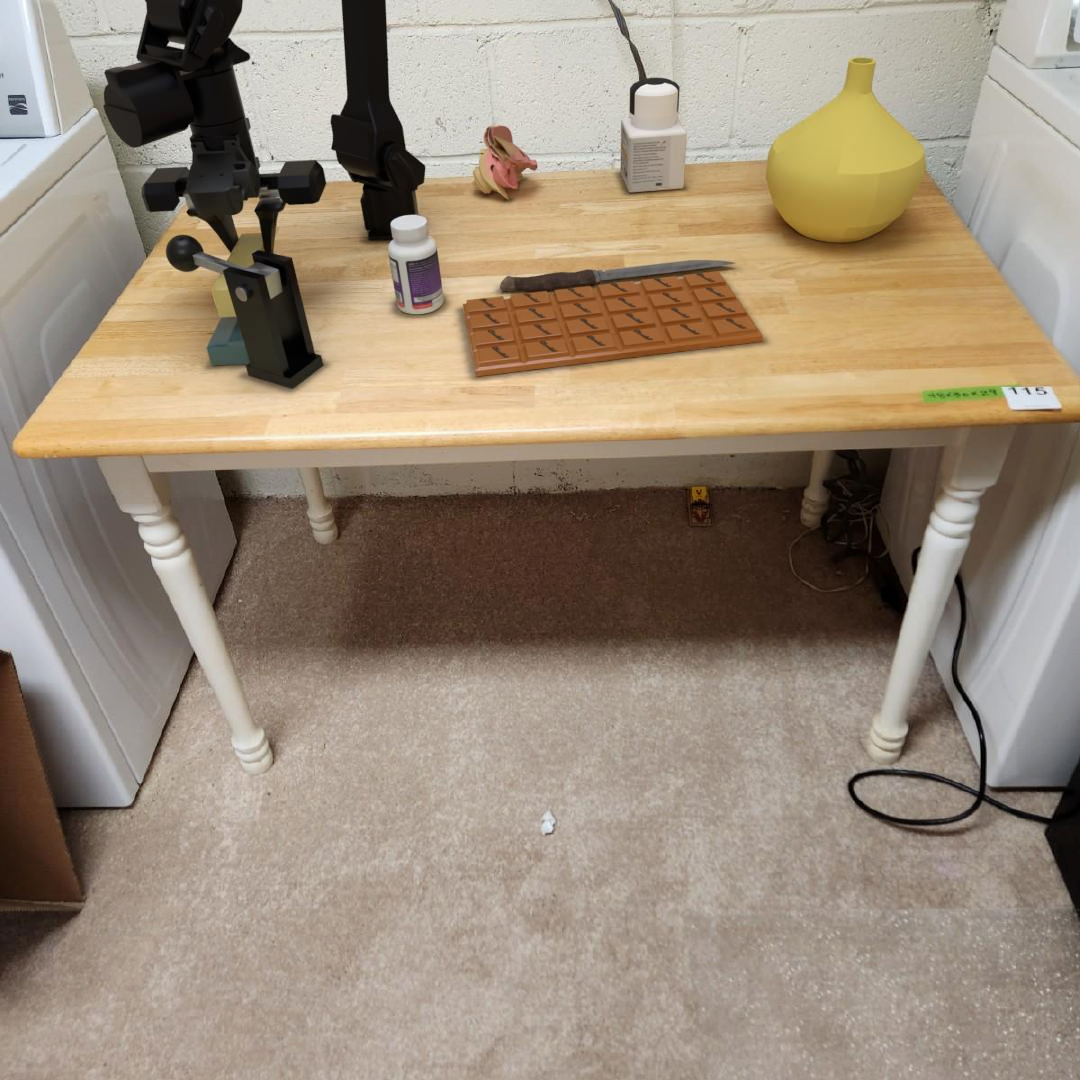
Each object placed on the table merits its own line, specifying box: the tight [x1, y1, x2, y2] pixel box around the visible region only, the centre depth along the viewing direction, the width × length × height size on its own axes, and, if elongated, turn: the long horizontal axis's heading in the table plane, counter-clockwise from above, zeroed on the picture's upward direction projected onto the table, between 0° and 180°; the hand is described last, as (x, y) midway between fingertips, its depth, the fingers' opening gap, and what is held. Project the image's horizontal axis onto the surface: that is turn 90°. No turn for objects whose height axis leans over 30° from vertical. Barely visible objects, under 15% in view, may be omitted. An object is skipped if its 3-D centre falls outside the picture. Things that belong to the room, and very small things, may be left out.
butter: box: [210, 232, 275, 318], centre depth 102 cm, size 14×3×3 cm, turn 1°
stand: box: [223, 250, 324, 389], centre depth 92 cm, size 6×6×12 cm
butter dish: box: [206, 317, 250, 367], centre depth 102 cm, size 5×14×2 cm, turn 1°
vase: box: [765, 56, 927, 243], centre depth 109 cm, size 18×18×19 cm
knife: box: [499, 259, 736, 292], centre depth 108 cm, size 28×3×1 cm, turn 99°
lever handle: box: [165, 234, 282, 299], centre depth 91 cm, size 13×4×4 cm, turn 61°
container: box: [620, 77, 688, 194], centre depth 125 cm, size 8×8×13 cm
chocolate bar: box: [462, 270, 763, 377], centre depth 100 cm, size 14×30×1 cm, turn 99°
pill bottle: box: [387, 214, 445, 315], centre depth 102 cm, size 5×5×10 cm
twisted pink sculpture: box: [471, 124, 539, 200], centre depth 128 cm, size 9×10×10 cm
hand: (254, 260), depth 106 cm, fingers closed on butter, 3 cm apart
